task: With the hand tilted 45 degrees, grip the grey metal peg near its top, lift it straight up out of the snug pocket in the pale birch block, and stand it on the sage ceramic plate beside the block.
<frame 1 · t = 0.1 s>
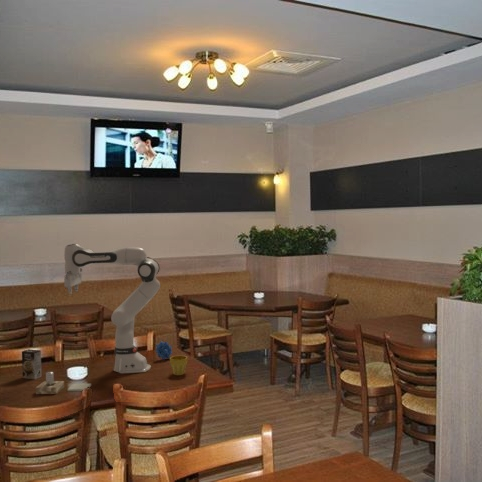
hand: (73, 292, 358), 48 cm above the table, tool pointing down, fingers open, 8 cm apart
coffee box: (32, 377, 346), on the table
metal peg: (50, 381, 320), in the pocket block
sage plate: (79, 388, 323), on the table
plant pot: (179, 374, 347), on the table
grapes: (164, 359, 380), on the table
pocket block: (50, 390, 320), on the table
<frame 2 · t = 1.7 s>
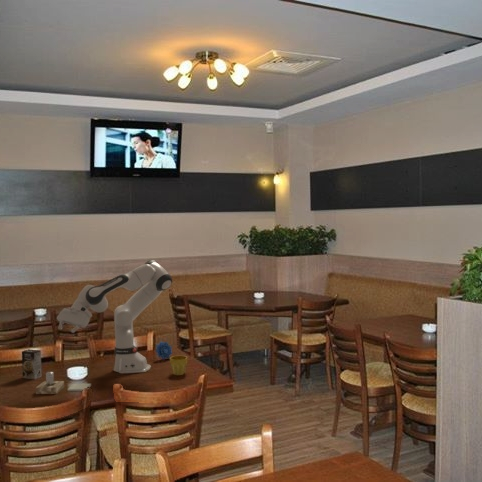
hand: (65, 330, 326), 31 cm above the table, tool tilted 45°, fingers open, 8 cm apart
nothing on the table moved.
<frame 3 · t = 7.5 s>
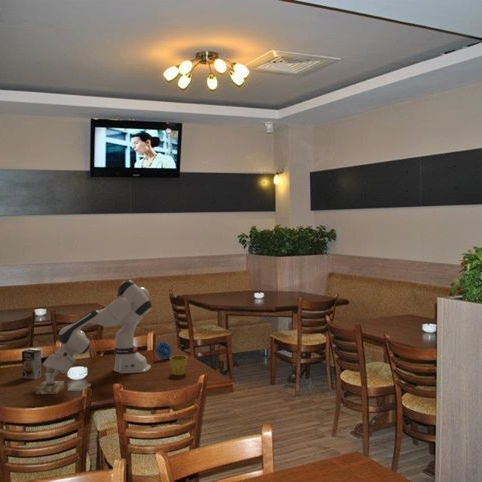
hand: (48, 376, 319), 8 cm above the table, tool tilted 45°, fingers closed on metal peg, 4 cm apart
metal peg: (50, 381, 320), in the pocket block, touching gripper
everything else where it was.
when the fingers open (10 cm above the table, at t = 16.3 s): metal peg drops 1 cm, resting on sage plate.
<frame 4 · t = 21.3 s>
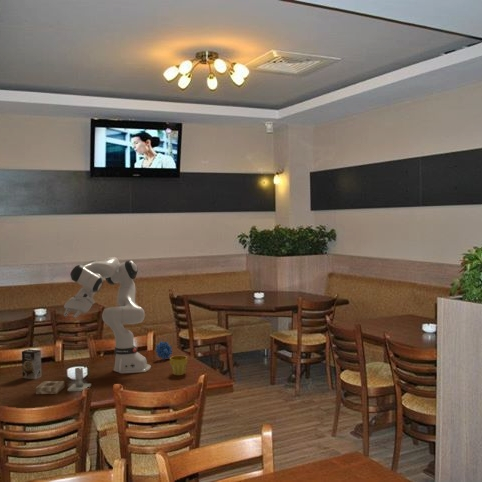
hand: (69, 316, 336), 37 cm above the table, tool tilted 45°, fingers open, 8 cm apart
metal peg: (79, 377, 323), on the sage plate, point 6 cm above the table
everything else where it was.
at the end: metal peg inside the target area on the sage plate (0.0 cm from its centre), point 6.0 cm above the sage plate's base; metal peg tilted 1°; the gripper is holding nothing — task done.
